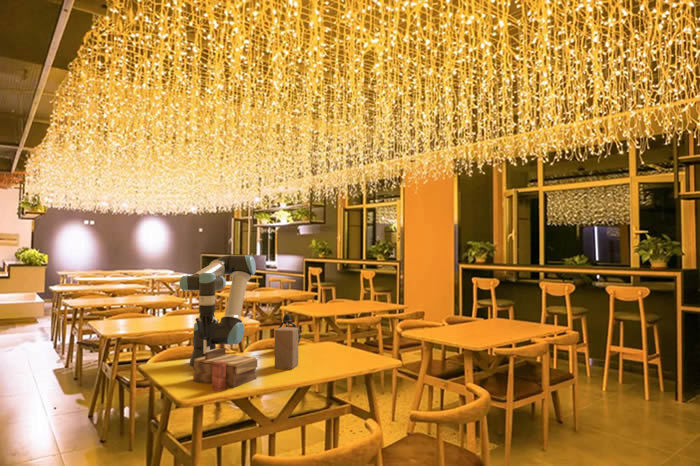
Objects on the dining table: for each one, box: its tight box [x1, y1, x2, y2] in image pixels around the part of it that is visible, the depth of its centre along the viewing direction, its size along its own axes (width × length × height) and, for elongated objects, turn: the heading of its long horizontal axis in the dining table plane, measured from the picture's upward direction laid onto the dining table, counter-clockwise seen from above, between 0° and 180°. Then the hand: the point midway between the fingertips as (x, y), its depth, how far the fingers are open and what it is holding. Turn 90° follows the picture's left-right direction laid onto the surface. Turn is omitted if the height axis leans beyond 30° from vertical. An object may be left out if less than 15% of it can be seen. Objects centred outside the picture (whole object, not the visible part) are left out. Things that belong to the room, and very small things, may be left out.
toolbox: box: [192, 361, 257, 389], centre depth 215 cm, size 24×16×9 cm, turn 64°
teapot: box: [274, 313, 302, 344], centre depth 281 cm, size 12×25×23 cm, turn 34°
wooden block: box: [274, 326, 299, 370], centre depth 241 cm, size 10×10×20 cm
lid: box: [194, 347, 258, 375], centre depth 215 cm, size 26×15×8 cm, turn 64°
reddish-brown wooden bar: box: [211, 361, 227, 392], centre depth 200 cm, size 4×4×12 cm
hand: (206, 353), depth 221 cm, fingers closed
